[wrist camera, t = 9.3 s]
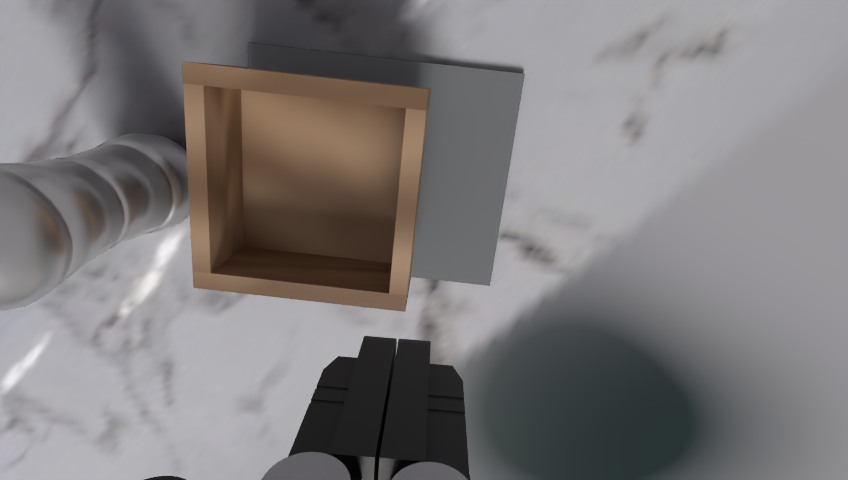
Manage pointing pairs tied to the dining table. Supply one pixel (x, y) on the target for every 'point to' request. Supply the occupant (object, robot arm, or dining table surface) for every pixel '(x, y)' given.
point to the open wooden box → (303, 184)
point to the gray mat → (439, 150)
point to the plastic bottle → (84, 209)
